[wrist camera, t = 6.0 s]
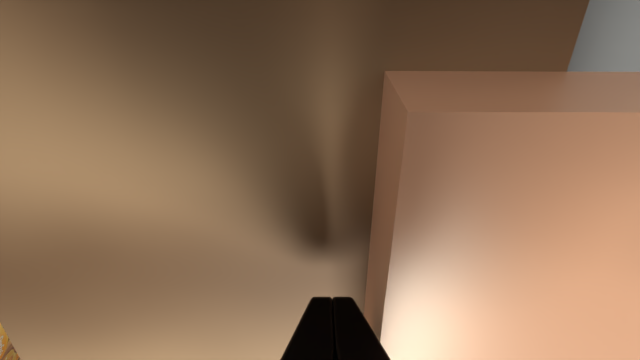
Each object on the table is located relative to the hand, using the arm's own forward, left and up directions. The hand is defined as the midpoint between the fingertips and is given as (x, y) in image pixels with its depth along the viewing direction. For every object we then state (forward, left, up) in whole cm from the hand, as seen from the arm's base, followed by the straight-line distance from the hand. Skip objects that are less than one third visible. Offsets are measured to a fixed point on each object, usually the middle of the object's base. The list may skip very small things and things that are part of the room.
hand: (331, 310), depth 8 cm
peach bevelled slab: (0, -4, -1) cm, 4 cm away
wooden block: (0, +2, -5) cm, 6 cm away
